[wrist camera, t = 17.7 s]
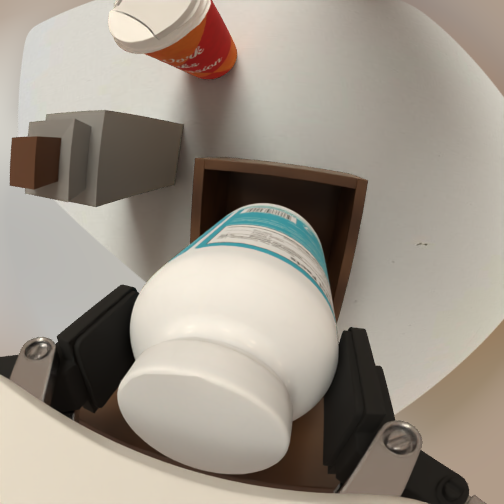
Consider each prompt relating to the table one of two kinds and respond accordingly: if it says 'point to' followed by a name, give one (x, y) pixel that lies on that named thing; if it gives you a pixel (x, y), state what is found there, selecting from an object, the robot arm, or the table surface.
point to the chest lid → (277, 476)
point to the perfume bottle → (95, 156)
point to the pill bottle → (232, 343)
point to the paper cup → (175, 34)
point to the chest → (286, 204)
